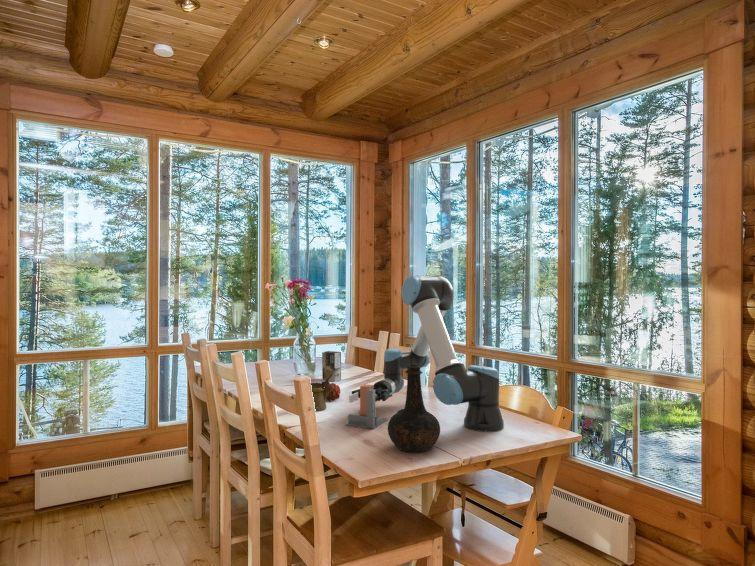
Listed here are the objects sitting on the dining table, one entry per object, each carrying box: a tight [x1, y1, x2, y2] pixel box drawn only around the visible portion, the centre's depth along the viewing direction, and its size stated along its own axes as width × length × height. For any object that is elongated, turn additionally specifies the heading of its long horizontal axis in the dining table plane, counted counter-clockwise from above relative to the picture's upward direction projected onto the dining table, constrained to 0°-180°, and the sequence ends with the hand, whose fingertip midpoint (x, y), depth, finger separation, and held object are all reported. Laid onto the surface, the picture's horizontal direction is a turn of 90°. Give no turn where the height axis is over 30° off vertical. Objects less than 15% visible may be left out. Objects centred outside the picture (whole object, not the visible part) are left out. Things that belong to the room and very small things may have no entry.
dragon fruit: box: [323, 382, 341, 401], centre depth 247 cm, size 8×8×12 cm
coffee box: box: [321, 350, 342, 382], centre depth 294 cm, size 9×6×16 cm
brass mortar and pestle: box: [310, 368, 336, 412], centre depth 229 cm, size 9×14×18 cm, turn 96°
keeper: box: [345, 389, 389, 430], centre depth 206 cm, size 15×12×15 cm
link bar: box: [359, 384, 374, 415], centre depth 207 cm, size 4×4×14 cm
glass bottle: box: [387, 365, 441, 453], centre depth 176 cm, size 18×18×28 cm
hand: (359, 400), depth 203 cm, fingers open, 7 cm apart
